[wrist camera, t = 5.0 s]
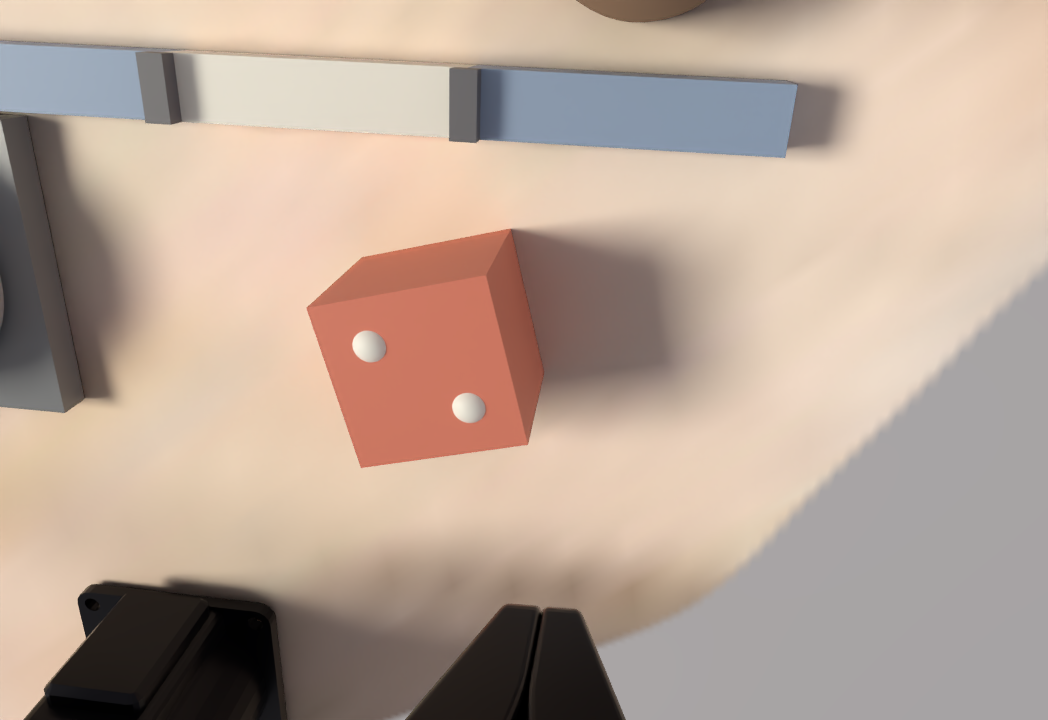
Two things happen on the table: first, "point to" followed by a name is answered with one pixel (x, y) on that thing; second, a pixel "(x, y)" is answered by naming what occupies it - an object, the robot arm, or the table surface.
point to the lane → (401, 97)
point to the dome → (1, 303)
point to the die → (432, 350)
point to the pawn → (640, 8)
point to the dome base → (31, 287)
